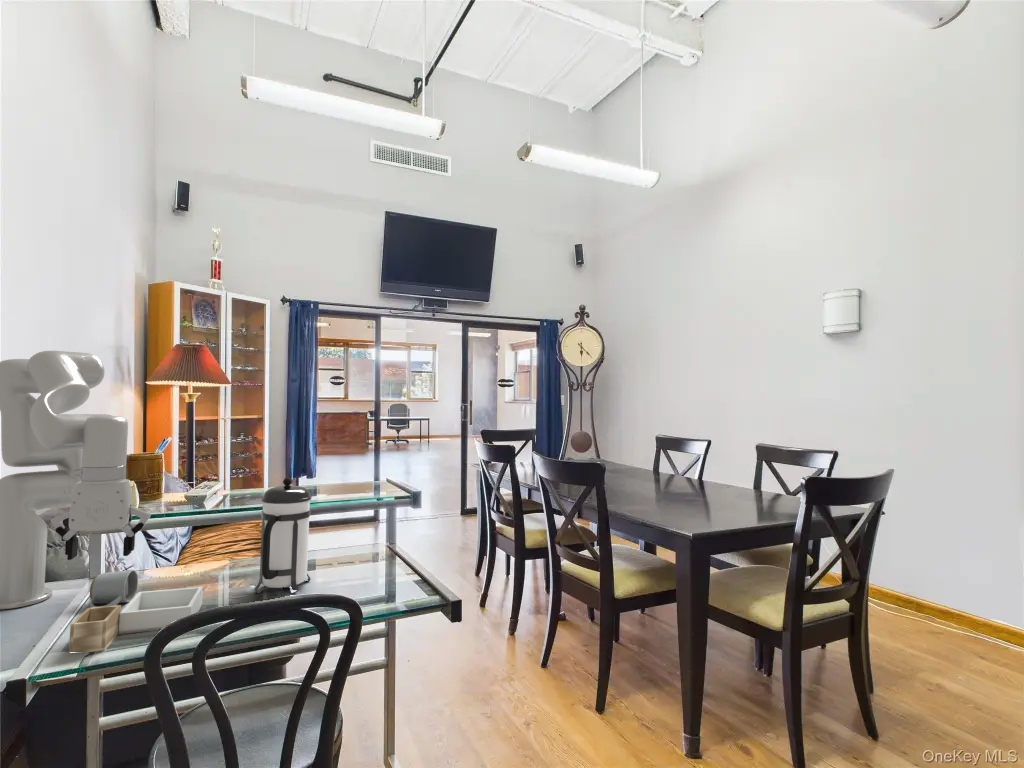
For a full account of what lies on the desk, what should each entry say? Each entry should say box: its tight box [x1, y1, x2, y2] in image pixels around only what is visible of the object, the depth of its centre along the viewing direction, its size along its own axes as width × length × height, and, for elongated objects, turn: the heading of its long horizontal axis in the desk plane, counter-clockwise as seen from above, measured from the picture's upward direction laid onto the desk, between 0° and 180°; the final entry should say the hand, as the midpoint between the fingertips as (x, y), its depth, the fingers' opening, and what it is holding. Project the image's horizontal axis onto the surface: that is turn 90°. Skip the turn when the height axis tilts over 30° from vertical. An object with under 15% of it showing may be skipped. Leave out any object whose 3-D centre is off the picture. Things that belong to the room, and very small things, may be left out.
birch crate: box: [68, 604, 122, 653], centre depth 113 cm, size 6×9×6 cm, turn 20°
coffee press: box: [254, 477, 312, 594], centre depth 148 cm, size 17×16×30 cm
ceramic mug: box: [89, 569, 139, 608], centre depth 134 cm, size 11×8×8 cm
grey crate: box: [118, 586, 204, 635], centre depth 126 cm, size 14×14×4 cm
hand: (100, 556), depth 114 cm, fingers open, 9 cm apart
